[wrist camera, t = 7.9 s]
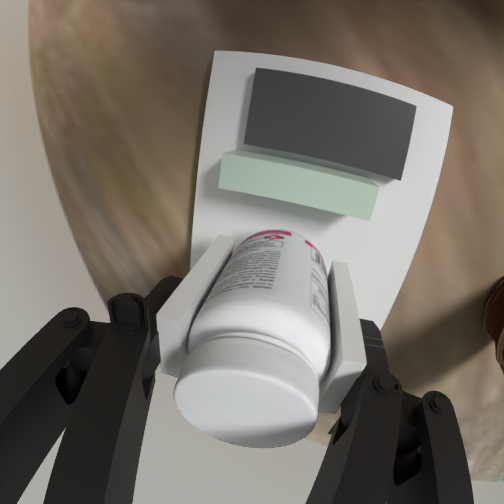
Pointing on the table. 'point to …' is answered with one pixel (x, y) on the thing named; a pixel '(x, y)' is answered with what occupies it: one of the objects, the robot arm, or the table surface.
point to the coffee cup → (496, 321)
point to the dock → (320, 165)
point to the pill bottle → (260, 345)
